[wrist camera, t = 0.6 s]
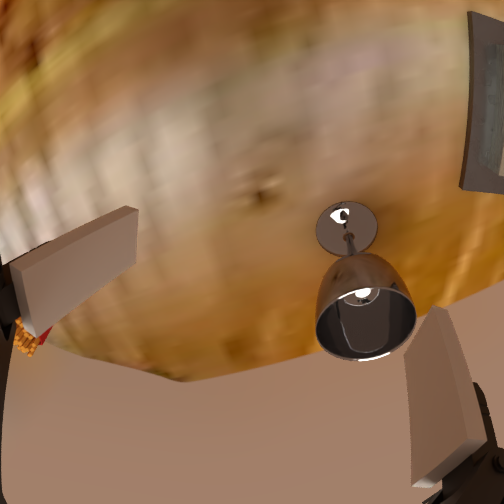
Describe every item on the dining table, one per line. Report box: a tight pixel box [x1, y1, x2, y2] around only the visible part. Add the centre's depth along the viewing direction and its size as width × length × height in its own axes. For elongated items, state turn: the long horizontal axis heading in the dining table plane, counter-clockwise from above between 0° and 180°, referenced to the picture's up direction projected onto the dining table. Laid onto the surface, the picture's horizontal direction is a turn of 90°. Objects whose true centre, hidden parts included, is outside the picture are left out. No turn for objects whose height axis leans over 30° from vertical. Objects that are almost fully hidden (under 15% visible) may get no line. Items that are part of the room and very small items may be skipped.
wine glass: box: [315, 201, 417, 361], centre depth 29 cm, size 8×8×15 cm
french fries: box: [13, 316, 53, 357], centre depth 43 cm, size 9×4×13 cm, turn 17°
